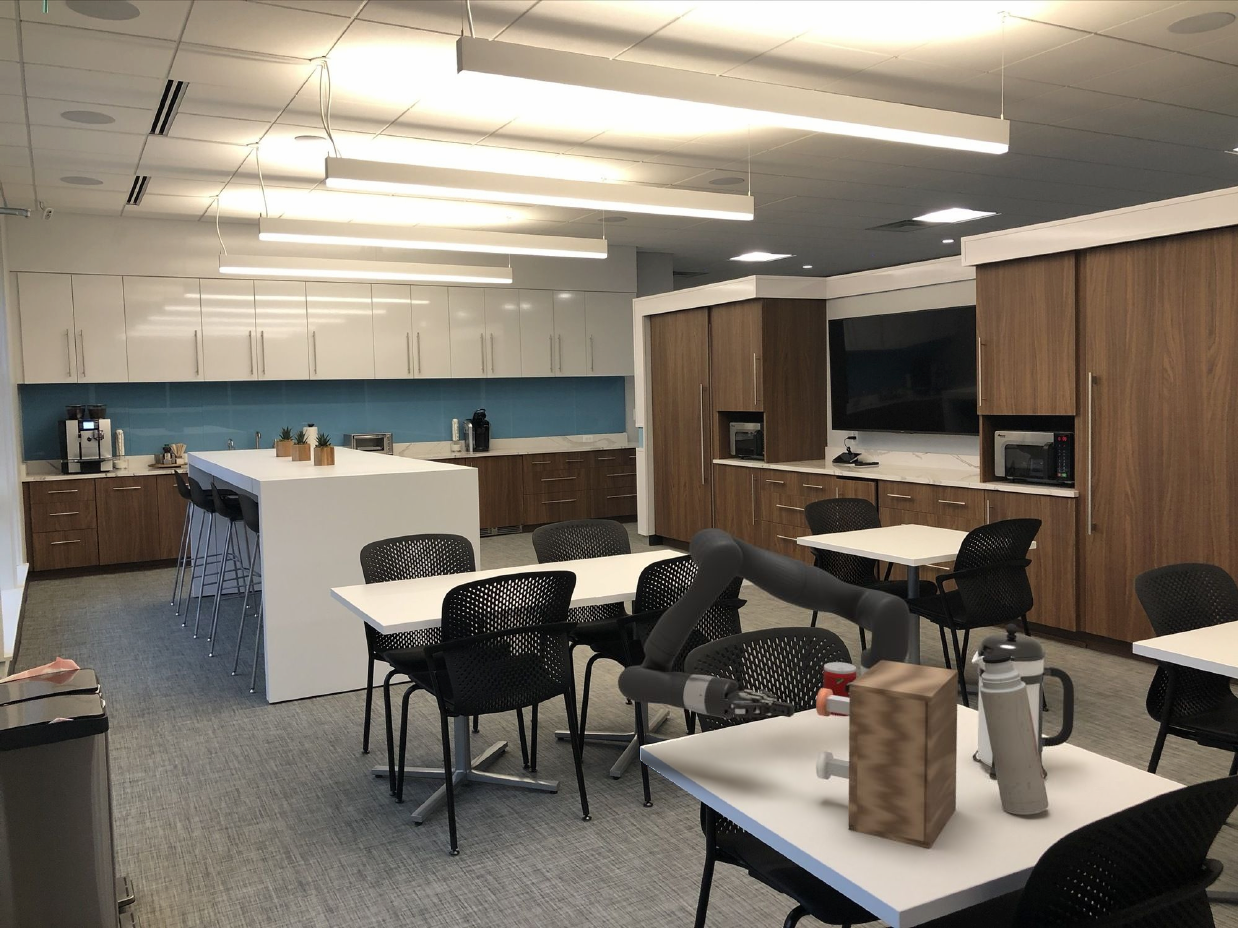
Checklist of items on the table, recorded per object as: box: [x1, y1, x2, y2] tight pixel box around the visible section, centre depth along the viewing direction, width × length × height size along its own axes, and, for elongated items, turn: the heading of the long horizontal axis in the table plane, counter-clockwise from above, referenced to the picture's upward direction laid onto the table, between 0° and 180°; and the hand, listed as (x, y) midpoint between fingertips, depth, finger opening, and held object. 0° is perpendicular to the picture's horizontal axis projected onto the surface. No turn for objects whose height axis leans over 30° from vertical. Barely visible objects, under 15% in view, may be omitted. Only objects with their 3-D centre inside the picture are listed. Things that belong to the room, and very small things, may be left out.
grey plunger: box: [815, 750, 849, 781], centre depth 178 cm, size 14×5×5 cm, turn 57°
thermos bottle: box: [980, 653, 1049, 815], centre depth 177 cm, size 8×8×28 cm
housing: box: [848, 660, 959, 849], centre depth 173 cm, size 14×18×26 cm
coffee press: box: [971, 623, 1075, 780], centre depth 196 cm, size 17×16×30 cm
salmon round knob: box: [815, 687, 849, 717], centre depth 177 cm, size 14×5×5 cm, turn 57°
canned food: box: [823, 661, 857, 717], centre depth 233 cm, size 8×8×11 cm
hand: (792, 710), depth 184 cm, fingers closed
